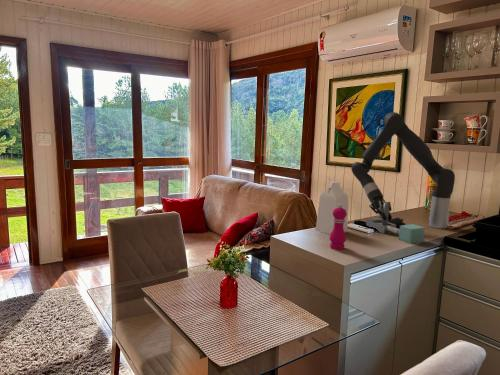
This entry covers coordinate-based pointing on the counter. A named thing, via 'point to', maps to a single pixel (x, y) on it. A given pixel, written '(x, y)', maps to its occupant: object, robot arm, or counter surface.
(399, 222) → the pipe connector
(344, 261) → the counter surface
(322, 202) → the milk
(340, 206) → the pepper mill
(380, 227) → the grey grooved block
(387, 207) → the grey piece
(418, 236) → the teal block
